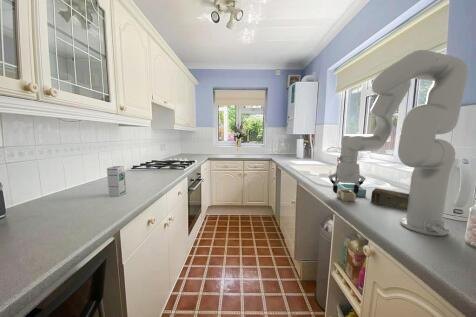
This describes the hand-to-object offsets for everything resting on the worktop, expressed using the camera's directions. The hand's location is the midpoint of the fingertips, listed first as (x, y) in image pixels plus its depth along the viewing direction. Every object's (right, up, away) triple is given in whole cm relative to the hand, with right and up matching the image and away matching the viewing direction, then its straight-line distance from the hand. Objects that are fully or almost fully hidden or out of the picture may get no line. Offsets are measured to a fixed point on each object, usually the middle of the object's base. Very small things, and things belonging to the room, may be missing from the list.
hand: (345, 193), depth 106 cm
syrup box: (-116, -1, +2) cm, 116 cm away
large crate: (+9, -2, +11) cm, 14 cm away
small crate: (0, -3, 0) cm, 3 cm away
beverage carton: (+20, -5, -8) cm, 22 cm away
